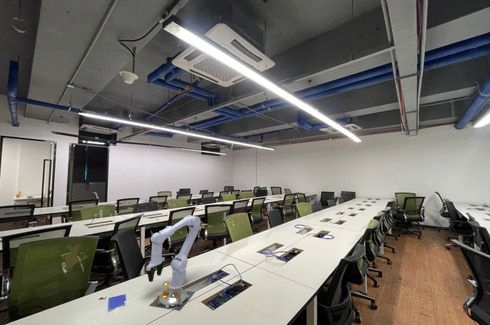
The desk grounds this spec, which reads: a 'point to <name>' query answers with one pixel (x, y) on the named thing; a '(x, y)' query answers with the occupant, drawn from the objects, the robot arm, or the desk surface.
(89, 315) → the desk surface
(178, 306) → the base plate
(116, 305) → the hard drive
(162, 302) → the tabbed metal disc
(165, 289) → the roller
